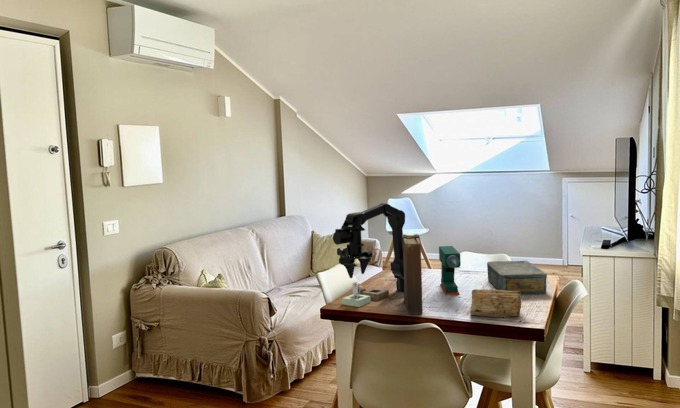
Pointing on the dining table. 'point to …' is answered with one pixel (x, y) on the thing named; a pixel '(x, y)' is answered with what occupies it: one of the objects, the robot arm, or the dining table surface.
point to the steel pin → (356, 290)
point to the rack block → (356, 300)
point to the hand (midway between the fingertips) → (357, 275)
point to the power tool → (449, 269)
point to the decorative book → (412, 274)
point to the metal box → (517, 277)
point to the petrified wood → (495, 303)
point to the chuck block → (376, 293)
